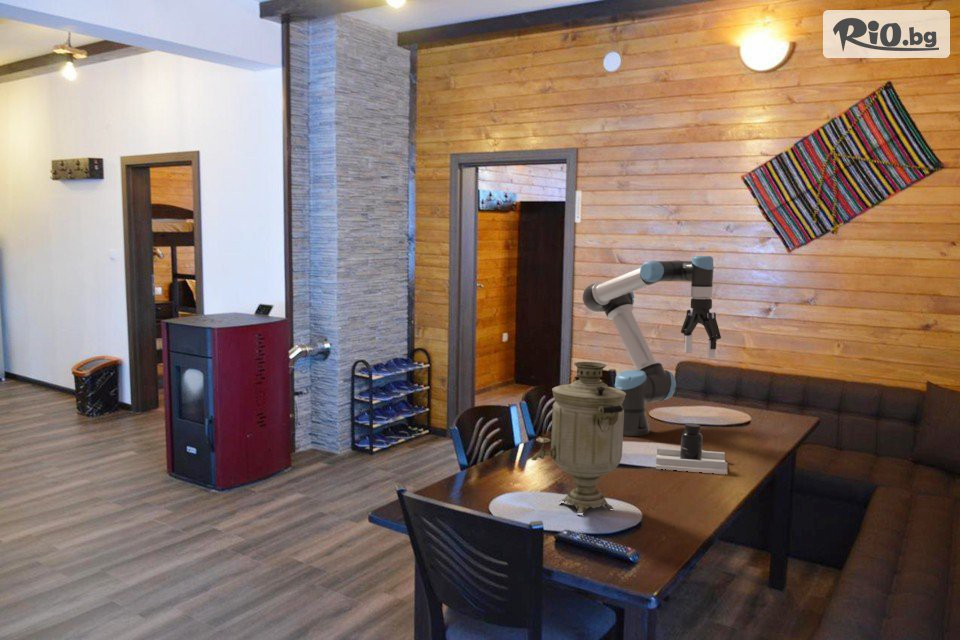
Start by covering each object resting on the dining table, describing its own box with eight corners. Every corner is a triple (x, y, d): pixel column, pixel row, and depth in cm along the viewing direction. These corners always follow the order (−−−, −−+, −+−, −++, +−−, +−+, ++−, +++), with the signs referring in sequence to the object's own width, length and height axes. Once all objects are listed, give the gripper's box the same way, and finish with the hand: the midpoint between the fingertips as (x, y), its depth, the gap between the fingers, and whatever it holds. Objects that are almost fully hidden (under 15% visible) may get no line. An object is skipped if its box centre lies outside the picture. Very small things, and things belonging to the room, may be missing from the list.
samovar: (521, 489, 218) (523, 356, 214) (608, 487, 220) (611, 355, 216) (536, 528, 189) (538, 373, 184) (636, 525, 190) (640, 373, 186)
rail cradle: (656, 469, 239) (656, 459, 238) (656, 455, 254) (657, 446, 254) (727, 474, 233) (727, 464, 233) (723, 460, 249) (724, 451, 248)
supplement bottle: (678, 461, 242) (679, 425, 241) (682, 456, 248) (683, 421, 247) (699, 464, 239) (701, 428, 238) (703, 459, 245) (704, 423, 244)
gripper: (732, 300, 260) (730, 359, 262) (689, 295, 283) (687, 350, 285) (715, 300, 257) (712, 360, 259) (672, 296, 280) (670, 351, 283)
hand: (699, 355), depth 272 cm, fingers open, 13 cm apart
